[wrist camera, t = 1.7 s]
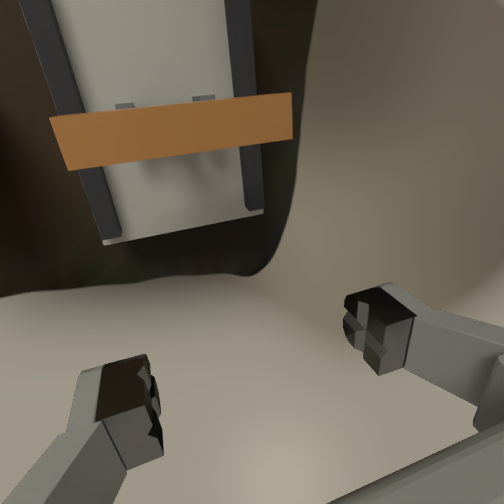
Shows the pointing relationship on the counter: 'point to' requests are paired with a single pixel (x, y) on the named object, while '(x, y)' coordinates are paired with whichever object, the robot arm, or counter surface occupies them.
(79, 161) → the lever
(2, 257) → the counter surface
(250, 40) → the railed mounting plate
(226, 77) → the box
